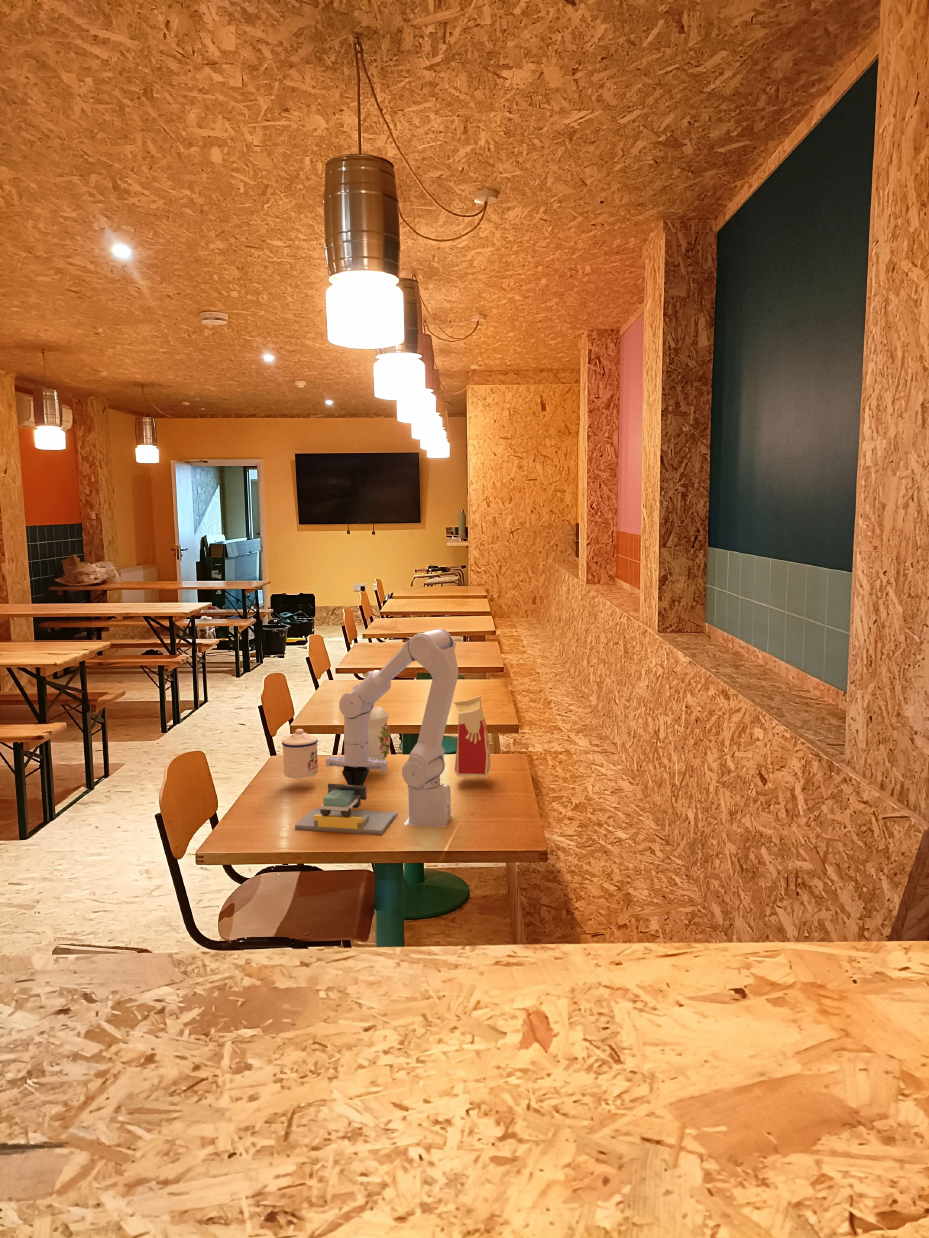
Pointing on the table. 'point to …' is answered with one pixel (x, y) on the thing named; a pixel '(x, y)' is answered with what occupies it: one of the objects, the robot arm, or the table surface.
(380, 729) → the pitcher
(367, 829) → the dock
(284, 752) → the teacup with lid
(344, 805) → the toy cart
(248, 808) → the table surface
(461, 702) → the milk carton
